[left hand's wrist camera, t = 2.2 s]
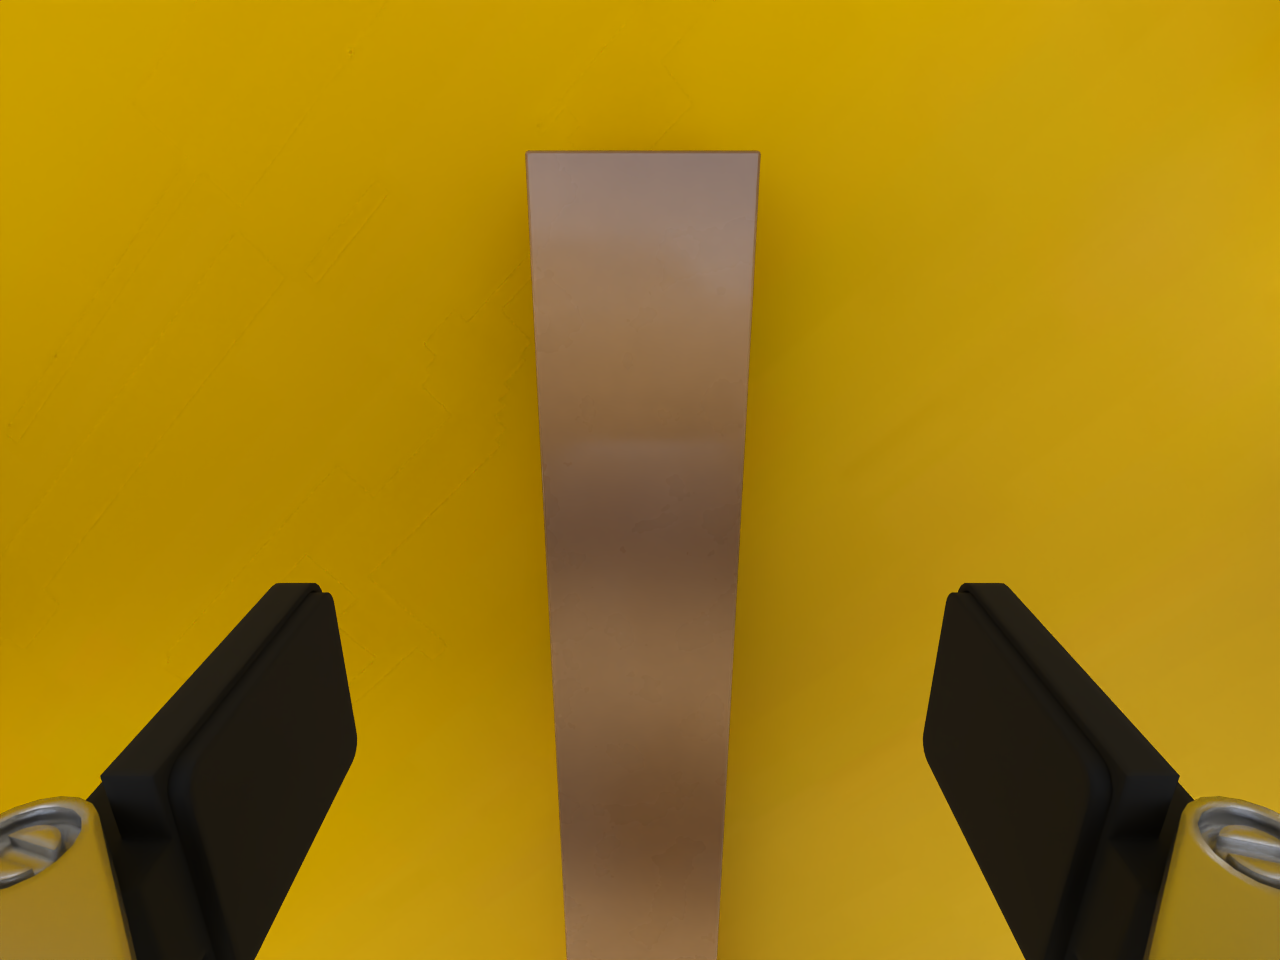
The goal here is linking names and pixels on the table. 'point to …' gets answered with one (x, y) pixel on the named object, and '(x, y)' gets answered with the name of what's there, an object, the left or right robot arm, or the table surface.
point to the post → (642, 525)
